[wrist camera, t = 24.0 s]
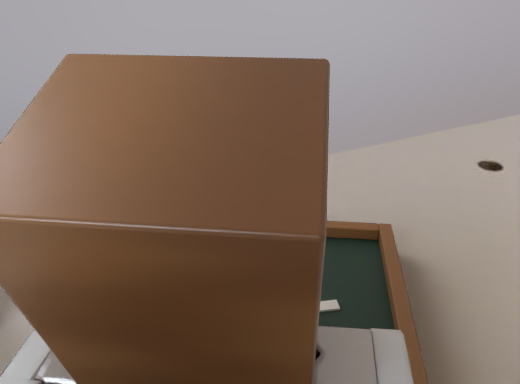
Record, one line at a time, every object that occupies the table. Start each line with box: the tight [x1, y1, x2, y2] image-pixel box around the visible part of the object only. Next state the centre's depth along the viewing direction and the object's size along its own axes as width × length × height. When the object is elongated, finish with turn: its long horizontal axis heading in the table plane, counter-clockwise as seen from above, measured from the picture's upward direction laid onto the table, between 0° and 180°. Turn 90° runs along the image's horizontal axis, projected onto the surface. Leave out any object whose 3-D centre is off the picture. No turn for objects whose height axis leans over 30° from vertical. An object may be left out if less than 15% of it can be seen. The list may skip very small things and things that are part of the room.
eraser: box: [0, 54, 411, 384], centre depth 8 cm, size 8×5×11 cm, turn 83°
